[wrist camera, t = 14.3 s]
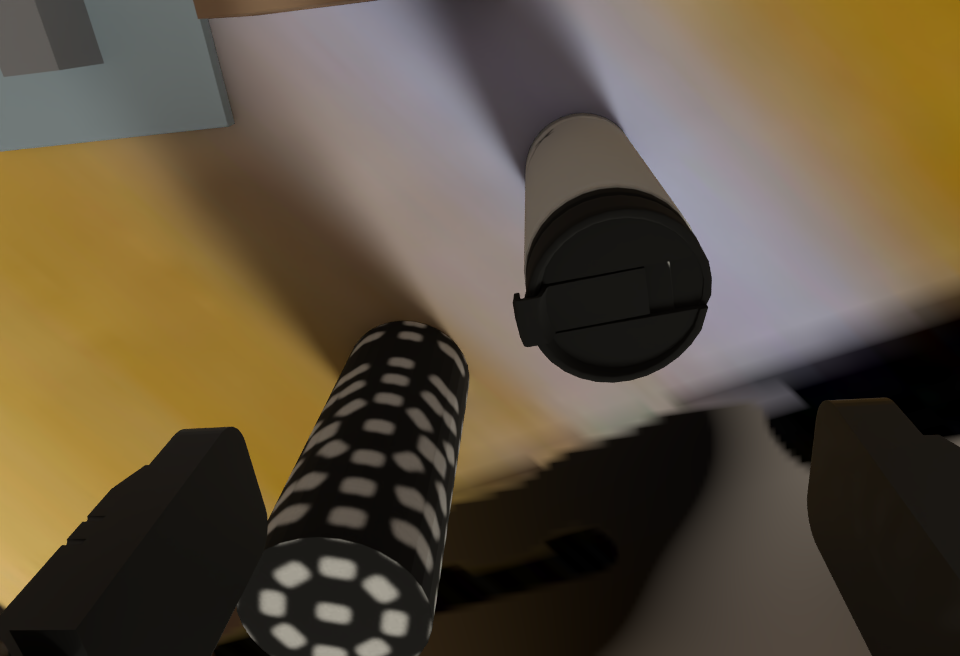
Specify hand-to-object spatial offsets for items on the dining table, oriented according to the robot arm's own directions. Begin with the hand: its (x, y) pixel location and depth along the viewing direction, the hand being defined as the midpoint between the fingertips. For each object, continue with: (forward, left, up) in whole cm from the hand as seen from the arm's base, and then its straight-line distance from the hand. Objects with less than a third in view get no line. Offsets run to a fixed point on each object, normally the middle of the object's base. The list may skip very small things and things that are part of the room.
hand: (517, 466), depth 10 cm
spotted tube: (+9, +16, -32) cm, 37 cm away
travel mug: (-3, +3, -32) cm, 33 cm away
